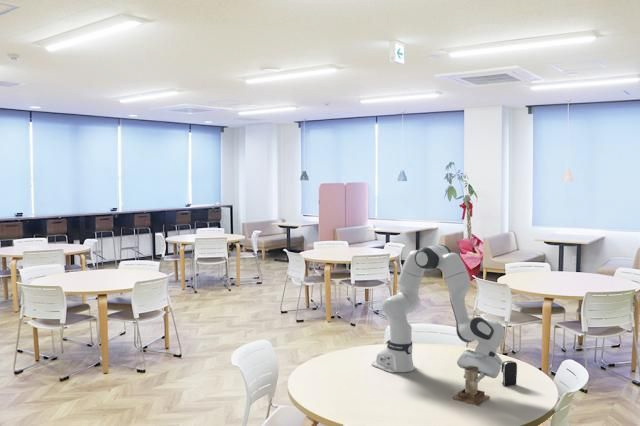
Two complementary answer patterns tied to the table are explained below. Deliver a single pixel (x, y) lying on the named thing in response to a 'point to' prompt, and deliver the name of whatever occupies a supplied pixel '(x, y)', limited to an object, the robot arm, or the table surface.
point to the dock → (471, 397)
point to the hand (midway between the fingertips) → (470, 379)
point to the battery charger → (509, 373)
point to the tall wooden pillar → (471, 380)
